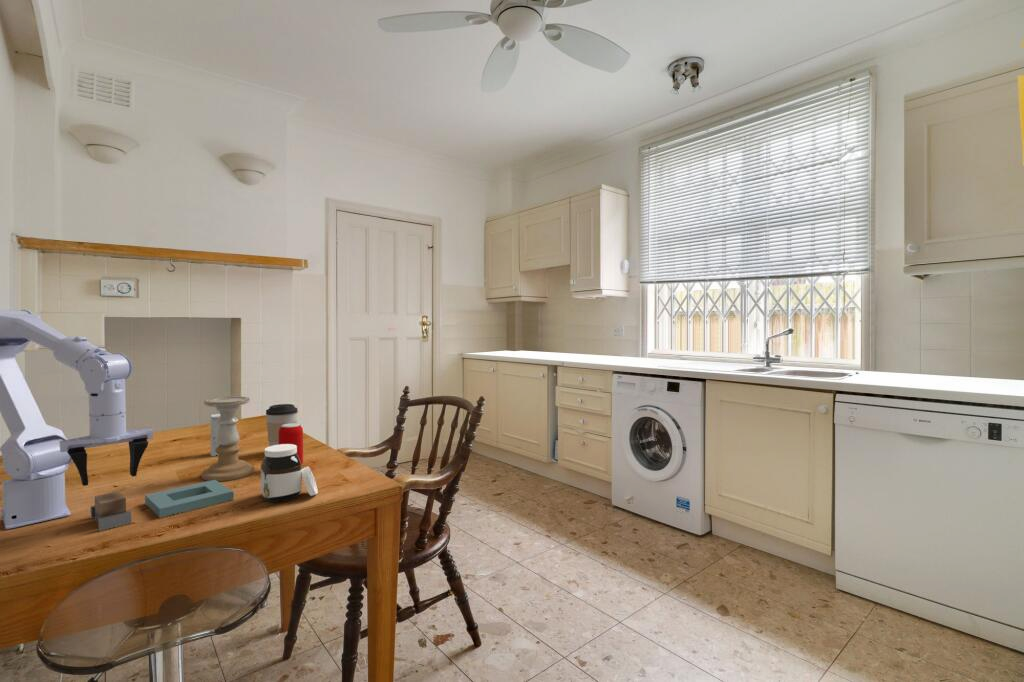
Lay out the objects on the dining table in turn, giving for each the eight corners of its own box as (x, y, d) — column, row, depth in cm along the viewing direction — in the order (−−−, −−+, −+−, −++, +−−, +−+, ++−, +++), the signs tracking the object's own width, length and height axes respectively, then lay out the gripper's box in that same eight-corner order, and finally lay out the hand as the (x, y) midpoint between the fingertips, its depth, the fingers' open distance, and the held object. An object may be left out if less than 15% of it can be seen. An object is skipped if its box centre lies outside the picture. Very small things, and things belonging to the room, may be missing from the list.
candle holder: (257, 465, 137) (256, 394, 136) (250, 479, 126) (249, 401, 125) (207, 469, 133) (206, 396, 132) (195, 484, 121) (193, 404, 121)
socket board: (160, 518, 100) (159, 508, 100) (145, 503, 108) (145, 494, 108) (233, 499, 111) (233, 491, 111) (215, 487, 119) (215, 479, 119)
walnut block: (101, 528, 96) (100, 503, 95) (95, 520, 100) (94, 496, 99) (126, 522, 99) (125, 498, 98) (119, 514, 103) (119, 491, 102)
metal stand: (99, 531, 94) (99, 518, 94) (90, 517, 100) (90, 506, 100) (131, 523, 98) (131, 511, 98) (120, 510, 104) (120, 499, 104)
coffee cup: (266, 450, 153) (266, 403, 152) (298, 447, 157) (297, 401, 156) (265, 457, 145) (265, 408, 144) (298, 454, 149) (298, 405, 148)
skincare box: (210, 456, 145) (210, 416, 145) (210, 453, 149) (209, 414, 149) (234, 453, 149) (233, 414, 148) (233, 450, 152) (232, 412, 152)
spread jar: (256, 495, 114) (256, 446, 114) (305, 484, 122) (304, 438, 122) (274, 509, 106) (273, 456, 105) (325, 496, 114) (325, 447, 113)
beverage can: (280, 464, 138) (280, 423, 137) (304, 463, 140) (303, 421, 139) (277, 471, 132) (276, 427, 132) (302, 469, 134) (301, 426, 133)
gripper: (62, 421, 90) (64, 493, 91) (156, 411, 101) (158, 475, 102) (56, 416, 95) (59, 485, 95) (147, 407, 106) (149, 468, 106)
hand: (109, 479), depth 99 cm, fingers open, 7 cm apart
